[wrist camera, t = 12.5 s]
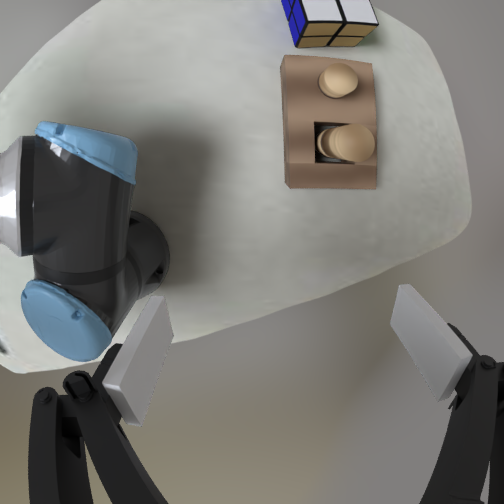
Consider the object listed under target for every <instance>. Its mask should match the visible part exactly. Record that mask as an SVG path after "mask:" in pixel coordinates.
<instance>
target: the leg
mask: <svg viewBox="0 0 504 504" xmlns="http://www.w3.org/2000/svg"><path fill="white" fill-rule="evenodd" d="M314 142H315V150H316V151H317V152H319V153H320V154H321V155H323V156H325V157H330V158H336V159H343V160H349V161H354V162H362V161H365V160H367V159H368V158H369V157H370V156H371V155H372V153H373V151H374V147H375V142H374V137H373V135H372V133H371V132H370V130H369V129H368V128H366V127H365V126H363V125H361V124H349V125H344V126H340V127H335V128H330V129H326V130H323V131H321V132H319V133H318V135H317V136H316V137H315V138H314Z"/></svg>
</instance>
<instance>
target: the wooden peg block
mask: <svg viewBox="0 0 504 504" xmlns="http://www.w3.org/2000/svg"><path fill="white" fill-rule="evenodd" d="M280 73H281V91H282V110H283V134H284V165H285V183H286V184H287V186H288V187H289V188H290V189H291V188H347V189H376V173H377V130H376V106H375V91H374V79H373V69H372V64H371V63H365V62H359V61H353V60H345V59H337V58H328V57H317V56H301V55H284V58H283V61H282V63H281V66H280ZM349 124H361V125H363V126H365V127H366V128H368V129H369V130H370V132H371V133H372V135H373V137H374V142H375V147H374V151H373V153H372V155H371V156H370V157H369V158H368V159H367V160H365V161H362V162H354V161H349V160H343V159H341V162H331V161H315V142H314V125H320V126H339V127H340V126H344V125H349Z"/></svg>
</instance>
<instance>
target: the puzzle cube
mask: <svg viewBox="0 0 504 504" xmlns="http://www.w3.org/2000/svg"><path fill="white" fill-rule="evenodd" d="M281 2H282V5H283V8H284V11H285V14H286V17H287V21H289V28H290V31H291V34H292V38H293V42H294V45H295V47H297V48H303V47H321V46H326V45H328V46H355V45H357V44H358V43H359V42H360V41H361V40H362V39H363V38H364V37H365V36H367V35H368V34H369V33H370V32H371V31H372V30H374V29H375V28H376V27H377V26H378V25H379V23H378V21H377V18H376V15H375V12H374V10H373V7H372V5H371V2H370V0H281Z"/></svg>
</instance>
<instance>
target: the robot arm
mask: <svg viewBox="0 0 504 504" xmlns="http://www.w3.org/2000/svg"><path fill="white" fill-rule="evenodd" d="M35 134H36V135H35V136H19V137H18V138H17V139H16V140H15V141H14V142H13V144H12V145H11V146H10V147H9V148H8V149H7V150H6V151H4V152H3V153H0V244H3V245H5V246H7V247H8V248H9V249H10V250H11V251H12V252H13V253H14V254H16V255H17V256H18V257H22V256H28V255H33V264H34V273H35V277H34V280H31V281H29V282H28V283H27V284H26V287H25V289H24V290H23V292H22V295H21V306H22V310H23V313H24V315H25V318H26V320H27V322H28V323H29V325H30V327H31V328H32V329H33V331H34V332H35V333H36V335H37V336H38V337H39V338H40V339H41V340H42V341H43V342H44V343H45V344H46V345H47V346H48V347H50V348H51V349H52V350H54V351H55V352H57V353H58V354H60V355H62V356H64V357H66V358H68V359H71V360H74V361H79V362H87V361H91V360H95V359H96V358H98V357H99V356H100V355H101V354H102V352H103V351H104V350H105V349H106V348H107V347H108V346H109V345H110V343H111V342H112V338H113V337H114V335H115V333H116V332H117V330H118V328H119V327H120V325H121V324H122V322H123V320H124V319H125V317H126V316H127V314H128V313H129V311H130V310H131V308H132V306H133V305H134V303H135V302H136V300H138V299H140V298H142V297H145V296H147V295H149V294H150V293H152V292H153V291H154V290H156V289H157V288H158V287H159V285H160V284H161V282H162V281H163V279H164V278H165V276H166V274H167V271H168V268H169V261H170V256H169V249H168V245H167V242H166V240H165V238H164V236H163V234H162V232H161V231H160V229H159V228H158V227H157V226H156V225H155V224H154V223H153V222H152V221H151V220H150V219H148V218H147V217H145V216H144V215H142V214H140V213H137V212H133V211H131V204H132V196H133V189H134V185H136V180H135V171H136V163H137V156H138V151H137V147H136V145H135V144H134V142H133V141H132V140H130V139H129V138H126V137H123V136H119V135H115V134H111V133H107V132H102V131H98V130H93V129H88V128H83V127H78V126H72V125H66V124H59V123H54V122H48V121H42V122H40V123H39V124H38V126H37V128H36V129H35ZM390 325H391V326H392V328H393V329H394V331H395V332H396V334H397V335H398V337H399V339H400V340H401V342H402V343H403V345H404V347H405V348H406V350H407V351H408V353H409V354H410V356H411V358H412V359H413V361H414V362H415V364H416V366H417V368H418V369H419V371H420V372H421V374H422V376H423V377H424V379H425V381H426V383H427V384H428V386H429V388H430V390H431V391H432V393H433V395H434V397H435V398H436V400H437V401H438V402H439V401H441V400H444V399H447V398H449V397H450V395H451V394H452V392H453V390H454V389H455V391H456V392H457V395H456V396H455V398H454V400H453V401H452V403H451V404H450V406H449V408H448V409H450V408H451V407H452V406H453V408H452V412H451V416H450V420H449V424H448V428H447V432H446V435H445V439H444V442H443V445H442V449H441V451H440V454H439V457H438V460H437V463H436V466H435V468H434V471H433V474H432V476H431V479H430V481H429V483H428V486H427V488H426V490H425V493H424V495H423V497H422V499H421V501H420V503H419V504H484V502H482V501H480V496H481V492H482V489H483V486H484V482H485V478H486V474H487V470H488V465H489V461H490V484H489V496H488V504H504V362H499V363H496V361H495V360H494V359H493V358H492V357H490V356H487V355H482V356H480V355H479V354H478V353H477V352H476V350H475V349H474V348H473V346H472V345H471V344H470V343H469V342H468V341H467V340H466V338H465V337H464V336H463V335H462V334H461V332H460V331H459V330H458V329H457V328H456V327H454V326H453V325H451V324H450V323H447V324H446V323H445V321H444V320H443V319H442V318H441V317H440V316H439V315H438V313H437V312H435V310H434V309H433V308H432V307H431V306H430V305H429V304H428V303H427V301H426V300H425V299H424V298H423V297H422V296H421V295H420V294H419V293H418V292H417V291H416V290H415V289H414V288H413V287H412V286H411V285H410V284H402V285H399V287H398V291H397V296H396V301H395V305H394V309H393V313H392V317H391V321H390ZM173 336H174V335H173V331H172V327H171V323H170V319H169V314H168V310H167V305H166V301H165V296H151V298H150V299H149V301H148V303H147V304H146V306H145V308H144V309H143V311H142V313H141V314H140V316H139V318H138V319H137V321H136V323H135V324H134V326H133V328H132V330H131V331H130V333H129V335H128V336H127V338H126V340H125V342H124V343H123V344H117V343H116V344H114V345H113V346H112V347H111V348H110V349H108V351H107V352H106V354H105V356H104V358H103V359H102V361H101V364H100V365H99V366H98V368H97V370H96V371H95V373H94V375H93V377H92V378H91V376H90V375H89V373H87V372H85V371H75V372H72V373H70V374H69V375H68V376H67V377H66V378H65V379H64V381H63V388H64V389H65V391H66V393H67V394H68V395H58V393H57V392H56V391H55V389H53V388H51V387H45V388H42V389H40V390H39V391H38V392H37V393H36V394H35V397H34V399H33V406H32V414H31V423H30V435H29V456H28V479H29V498H30V504H93V499H92V494H91V489H90V483H89V477H88V470H87V462H86V454H85V444H86V446H87V449H88V451H89V454H90V457H91V459H92V462H93V464H94V466H95V469H96V471H97V473H98V475H99V478H100V480H101V482H102V484H103V486H104V488H105V490H106V492H107V494H108V496H109V498H110V500H111V502H112V504H168V502H167V501H166V500H165V498H164V497H163V496H162V494H161V493H160V491H159V490H158V488H157V487H156V485H155V484H154V482H153V481H152V479H151V478H150V476H149V475H148V473H147V471H146V470H145V468H144V467H143V465H142V463H141V462H140V460H139V458H138V457H137V455H136V453H135V451H134V450H133V448H132V446H131V444H130V442H129V440H128V439H127V437H126V435H125V433H124V431H123V429H122V427H121V425H120V424H119V422H120V420H121V417H122V418H123V419H124V421H125V422H126V424H130V425H136V426H141V427H142V425H143V421H144V419H145V416H146V412H147V410H148V406H149V404H150V401H151V398H152V395H153V392H154V389H155V386H156V383H157V380H158V377H159V374H160V372H161V369H162V366H163V363H164V360H165V358H166V355H167V352H168V350H169V347H170V344H171V342H172V339H173ZM84 441H85V444H84Z"/></svg>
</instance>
